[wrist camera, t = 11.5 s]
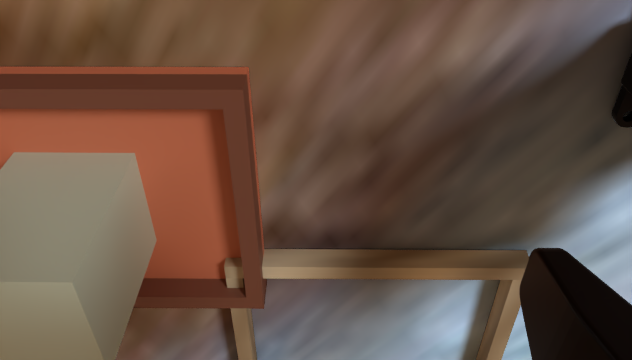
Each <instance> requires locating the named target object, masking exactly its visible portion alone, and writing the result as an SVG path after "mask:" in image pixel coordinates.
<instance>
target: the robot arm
mask: <svg viewBox="0 0 632 360" xmlns="http://www.w3.org/2000/svg"><path fill="white" fill-rule="evenodd" d="M621 83H622V87H621V90H620V93H619V95H618V98H617V100H616V103H615V105H614V108H613V111H612V117H613V119H614V120H615V122H616V123H617V124H618V125H620V126H621V127H632V54H631V57H630V59H629V62H628V65H627V67H626V70H625V73H624V75H623V78H622V80H621ZM628 111H631V113H630V114H629V115H627V116H624V114H625V113H626V112H628ZM623 116H624V117H623ZM519 295H520V302H521V307H522V312H523V317H524V322H525V327H526V332H527V337H528V342H529V346H530V351H531V356H532V360H632V305H631V304H630V303H628V302H627V301H626V300H625V299H624V298H622V297H621V296H620V295H619V294H618V293H616V292H615V291H614V290H613V289H612V288H610V287H609V286H608V285H607V284H605V283H604V282H603V281H602V280H601V279H599V278H598V277H597V276H596V275H595V274H593V273H592V272H591V271H590V270H589V269H587V268H586V267H585V266H584V265H582V264H581V263H580V262H579V261H578V260H576V259H575V258H574V257H573V256H572V255H570V254H569V253H568V252H567V251H565V250H563V249H560V248H536V249H534V250H533V251H532V253H531V255H530V257H529V260H528V263H527V266H526V269H525V272H524V274H523V277H522V280H521V283H520V289H519Z"/></svg>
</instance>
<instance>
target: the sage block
mask: <svg viewBox="0 0 632 360" xmlns="http://www.w3.org/2000/svg"><path fill="white" fill-rule="evenodd" d="M156 241H157V240H156V236H155V232H154V228H153V224H152V220H151V216H150V212H149V208H148V204H147V200H146V196H145V192H144V188H143V184H142V180H141V176H140V172H139V168H138V164H137V160H136V156H135V153H53V152H14V153H13V154H12V155H11V157H10V158H9V159H8V160H7V162H6V163H5V164H4V166H3V167H2V168H1V169H0V360H115V359H116V356H117V353H118V350H119V347H120V344H121V341H122V339H123V336H124V333H125V330H126V327H127V324H128V321H129V318H130V316H131V313H132V310H133V307H134V304H135V301H136V298H137V296H138V293H139V290H140V287H141V284H142V281H143V278H144V275H145V273H146V270H147V267H148V264H149V261H150V258H151V255H152V253H153V250H154V247H155V244H156Z"/></svg>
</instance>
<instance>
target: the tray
mask: <svg viewBox="0 0 632 360" xmlns="http://www.w3.org/2000/svg"><path fill="white" fill-rule="evenodd" d="M14 152H53V153H135V156H136V160H137V164H138V168H139V172H140V176H141V180H142V184H143V188H144V192H145V196H146V200H147V204H148V208H149V212H150V216H151V220H152V224H153V228H154V232H155V236H156V240H157V241H156V244H155V247H154V250H153V253H152V255H151V258H150V261H149V264H148V267H147V270H146V273H145V275H144V278H143V281H142V284H141V287H140V290H139V293H138V296H137V298H136V301H135V304H134V307H133V308H257V309H264V304H265V294H266V285H267V279H263V272H262V264H263V255H264V240H263V229H262V217H261V205H260V194H259V182H258V171H257V159H256V147H255V136H254V124H253V113H252V101H251V89H250V78H249V67H0V169H1V168H2V167H3V166H4V164H5V163H6V162H7V160H8V159H9V158H10V157H11V155H12V154H13V153H14ZM226 258H241V259H242V267H243V275H244V288H227V282H226V276H225V270H224V265H225V260H226Z"/></svg>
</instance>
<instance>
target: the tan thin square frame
mask: <svg viewBox="0 0 632 360" xmlns="http://www.w3.org/2000/svg"><path fill="white" fill-rule="evenodd" d="M528 260H529V256H528V254H527V251H526V250H372V249H264V255H263V264H262V272H263V279H433V280H500V283H499V286H498V290H497V293H496V296H495V299H494V303H493V306H492V309H491V312H490V316H489V319H488V322H487V325H486V329H485V332H484V335H483V338H482V342H481V345H480V348H479V351H478V354H477V358H476V360H501V359H502V356H503V353H504V350H505V348H506V345H507V342H508V339H509V336H510V334H511V331H512V328H513V325H514V322H515V320H516V317H517V314H518V311H519V308H520V306H521V302H520V295H519V289H520V283H521V280H522V277H523V274H524V272H525V269H526V266H527V263H528ZM224 270H225V276H226V282H227V288H244V275H243V267H242V259H241V258H226V260H225V265H224ZM231 315H232V321H233V328H234V334H235V340H236V347H237V353H238V360H257V355H256V346H255V338H254V330H253V321H252V313H251V308H231Z"/></svg>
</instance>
